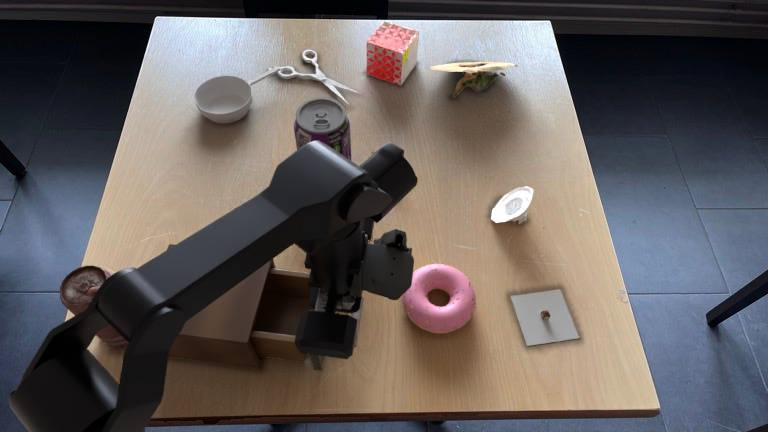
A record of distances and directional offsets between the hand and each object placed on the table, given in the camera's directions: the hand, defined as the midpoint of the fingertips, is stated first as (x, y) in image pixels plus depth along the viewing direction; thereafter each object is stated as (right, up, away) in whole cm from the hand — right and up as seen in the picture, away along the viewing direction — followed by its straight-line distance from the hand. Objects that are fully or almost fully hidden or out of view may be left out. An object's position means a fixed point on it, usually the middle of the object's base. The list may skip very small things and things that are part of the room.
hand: (341, 306), depth 67 cm
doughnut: (+14, -2, +11) cm, 18 cm away
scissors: (-7, +40, +40) cm, 57 cm away
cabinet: (-18, -4, +9) cm, 20 cm away
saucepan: (-22, +35, +36) cm, 55 cm away
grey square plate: (+29, -3, +11) cm, 31 cm away
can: (-31, -5, +8) cm, 33 cm away
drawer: (-7, -4, +8) cm, 11 cm away
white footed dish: (+27, +12, +21) cm, 36 cm away
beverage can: (-5, +19, +25) cm, 32 cm away
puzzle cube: (+7, +43, +43) cm, 61 cm away
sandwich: (+23, +39, +41) cm, 61 cm away
